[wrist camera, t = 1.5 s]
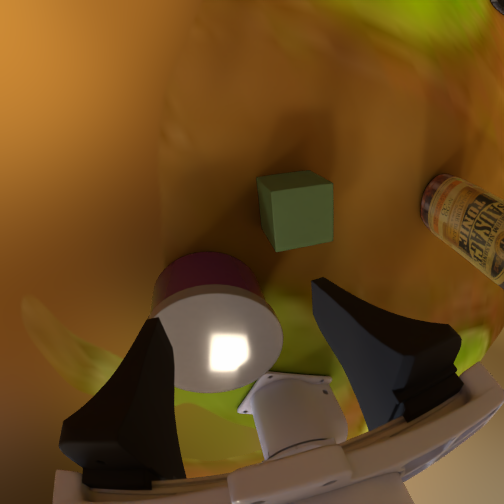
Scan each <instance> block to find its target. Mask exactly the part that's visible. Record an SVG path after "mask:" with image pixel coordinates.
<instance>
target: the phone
mask: <svg viewBox="0 0 504 504" xmlns="http://www.w3.org/2000/svg"><path fill="white" fill-rule="evenodd" d="M491 3H492V4H493V6H494V7H495V8H496V9H497V10H498V11H499V12H501V13H502V14H503V15H504V0H491Z"/></svg>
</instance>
